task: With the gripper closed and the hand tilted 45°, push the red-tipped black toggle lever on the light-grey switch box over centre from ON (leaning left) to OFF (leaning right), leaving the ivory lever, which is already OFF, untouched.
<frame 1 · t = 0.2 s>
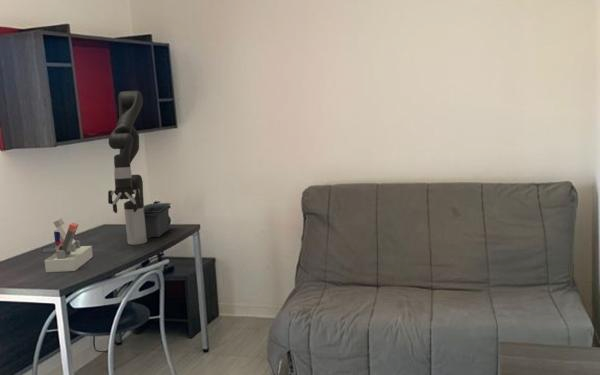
hand: (125, 212, 276), 18 cm above the table, tool pointing down, fingers open, 8 cm apart
energy drink: (63, 256, 274), on the table
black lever: (68, 240, 252), point 12 cm above the table, hinge at -25.0°
switch box: (70, 264, 259), on the table
storage bin: (154, 234, 309), on the table
ivory lever: (66, 234, 263), point 12 cm above the table, hinge at 25.0°
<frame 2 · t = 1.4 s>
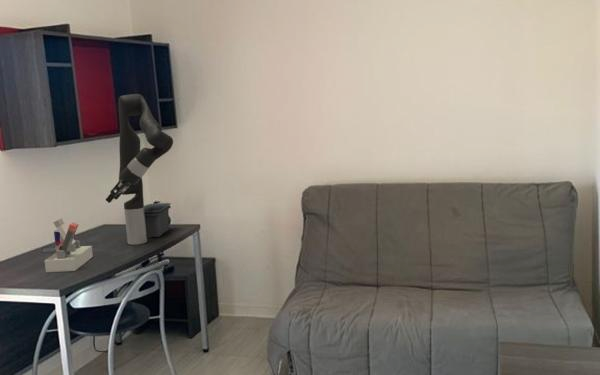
hand: (111, 199, 249), 28 cm above the table, tool tilted 45°, fingers open, 8 cm apart
nothing on the table moved.
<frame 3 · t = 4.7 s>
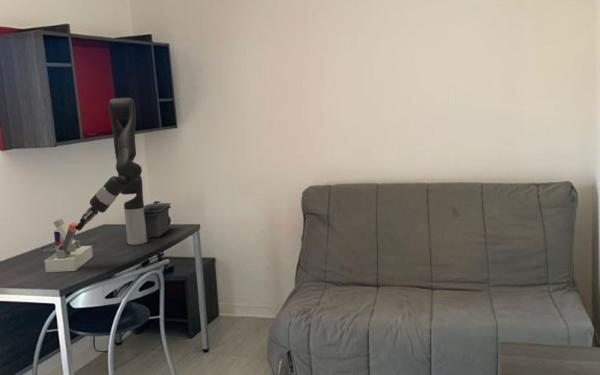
hand: (77, 229, 251), 16 cm above the table, tool tilted 45°, fingers closed
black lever: (68, 240, 252), point 12 cm above the table, hinge at -25.0°, touching gripper
everything else where it was.
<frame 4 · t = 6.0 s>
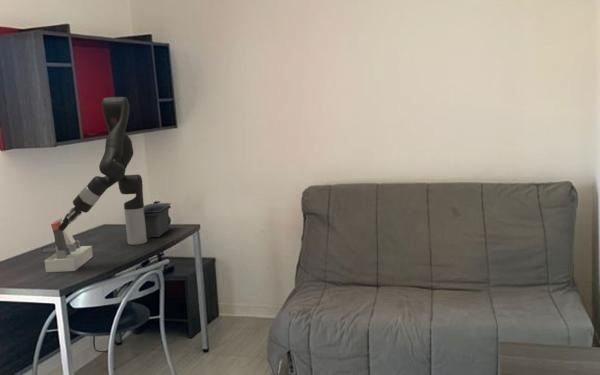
hand: (60, 229, 251), 17 cm above the table, tool tilted 45°, fingers closed
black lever: (60, 239, 252), point 12 cm above the table, hinge at 8.1°, touching gripper
everything else where it was.
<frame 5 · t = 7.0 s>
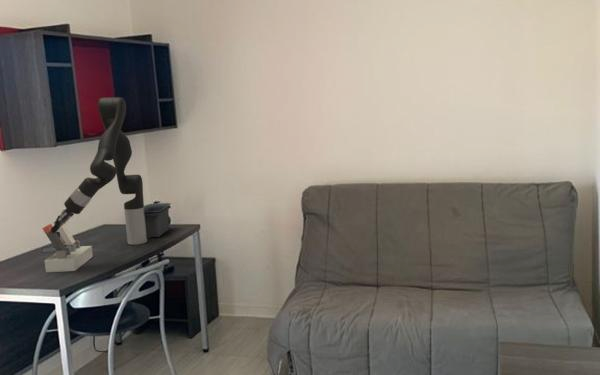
hand: (53, 231, 251), 16 cm above the table, tool tilted 45°, fingers closed
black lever: (55, 240, 252), point 12 cm above the table, hinge at 25.7°, touching gripper
everything else where it was.
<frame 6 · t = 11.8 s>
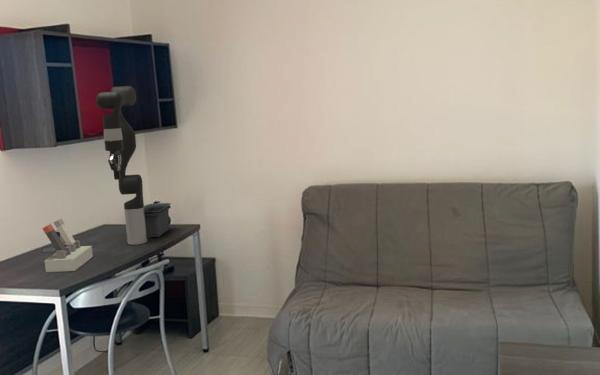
hand: (117, 179, 260), 35 cm above the table, tool pointing down, fingers closed
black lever: (55, 240, 252), point 12 cm above the table, hinge at 25.9°
everything else where it was.
at the end: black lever at +26° (first picture: -25°); ivory lever at +25° (first picture: +25°) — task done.
